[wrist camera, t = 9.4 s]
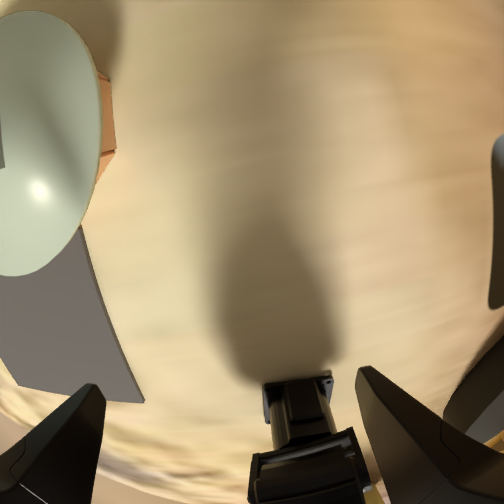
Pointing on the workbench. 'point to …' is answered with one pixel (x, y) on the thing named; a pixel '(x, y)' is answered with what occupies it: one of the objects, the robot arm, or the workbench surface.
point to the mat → (62, 329)
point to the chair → (480, 398)
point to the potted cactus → (373, 496)
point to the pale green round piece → (45, 138)
